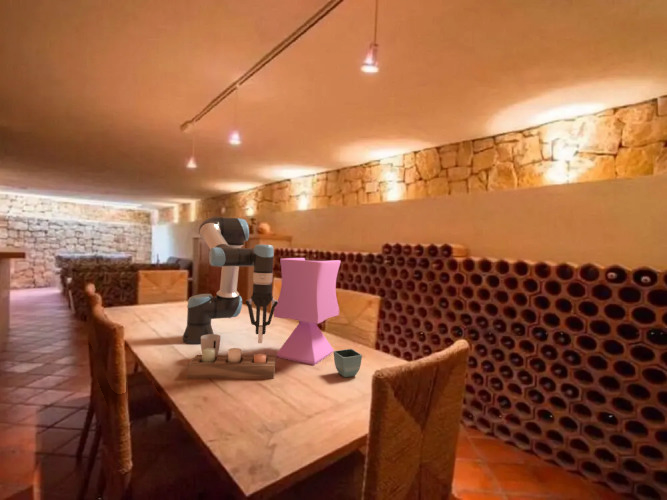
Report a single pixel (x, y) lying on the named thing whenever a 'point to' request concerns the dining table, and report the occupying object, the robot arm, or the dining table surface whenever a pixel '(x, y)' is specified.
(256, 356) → the button terracotta
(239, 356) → the peach rounded knob
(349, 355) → the flower pot
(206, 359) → the button sage
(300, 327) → the pink table lamp
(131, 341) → the dining table surface
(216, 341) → the cup
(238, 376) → the brown wooden long block
